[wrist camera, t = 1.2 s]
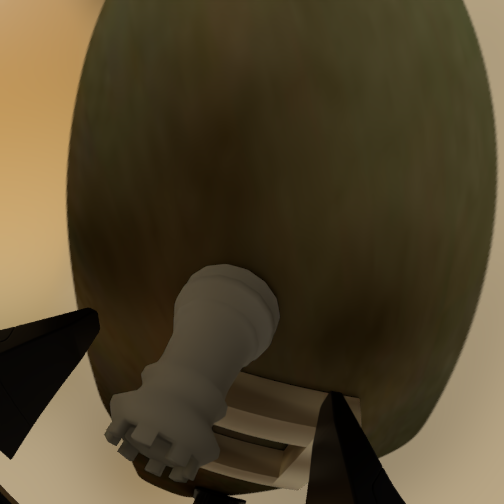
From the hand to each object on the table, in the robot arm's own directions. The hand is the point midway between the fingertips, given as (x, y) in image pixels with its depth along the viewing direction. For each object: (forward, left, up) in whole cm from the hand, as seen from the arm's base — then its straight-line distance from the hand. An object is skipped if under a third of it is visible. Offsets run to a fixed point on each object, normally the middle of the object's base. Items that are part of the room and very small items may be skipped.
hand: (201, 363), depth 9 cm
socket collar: (-9, -3, -4) cm, 10 cm away
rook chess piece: (0, 0, -4) cm, 4 cm away
